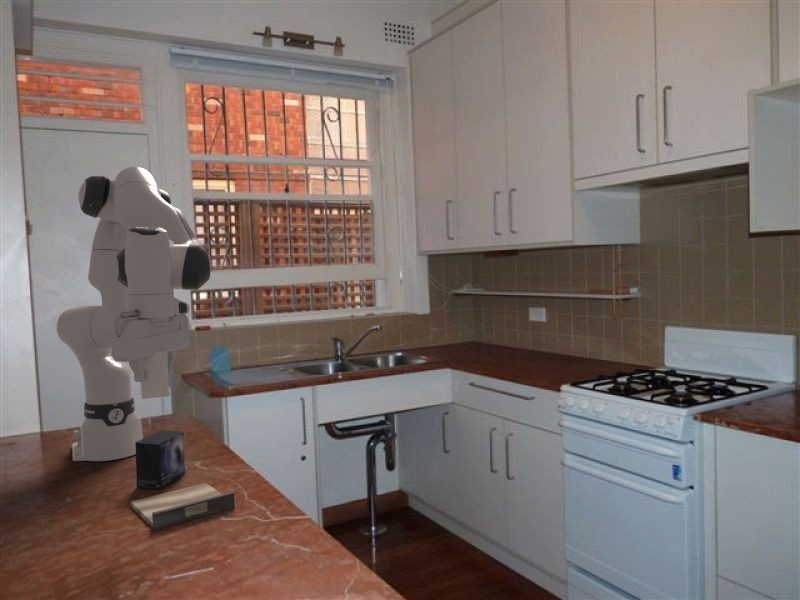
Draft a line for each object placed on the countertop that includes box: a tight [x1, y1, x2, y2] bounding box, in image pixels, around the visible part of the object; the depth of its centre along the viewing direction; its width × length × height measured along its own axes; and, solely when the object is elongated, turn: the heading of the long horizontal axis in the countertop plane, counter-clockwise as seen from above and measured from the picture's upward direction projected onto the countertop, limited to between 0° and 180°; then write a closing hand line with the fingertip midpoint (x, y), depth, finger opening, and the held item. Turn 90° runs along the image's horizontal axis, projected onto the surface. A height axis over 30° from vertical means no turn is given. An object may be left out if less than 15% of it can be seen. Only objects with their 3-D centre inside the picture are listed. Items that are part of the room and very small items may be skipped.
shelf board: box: [130, 482, 235, 530], centre depth 131 cm, size 15×16×3 cm
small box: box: [135, 429, 186, 490], centre depth 146 cm, size 11×6×10 cm, turn 168°
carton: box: [140, 350, 171, 400], centre depth 128 cm, size 5×5×9 cm
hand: (154, 377), depth 128 cm, fingers closed on carton, 7 cm apart
